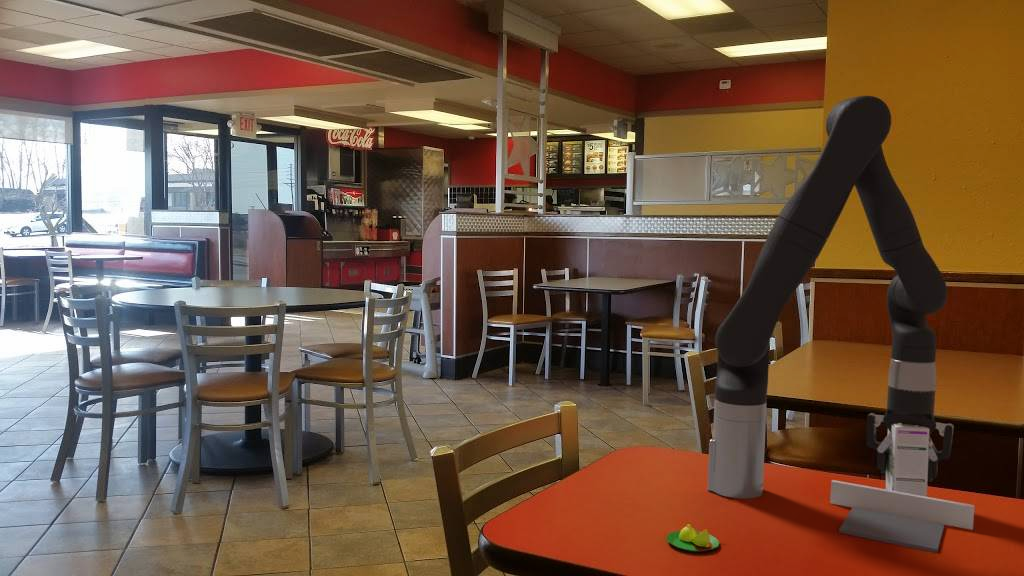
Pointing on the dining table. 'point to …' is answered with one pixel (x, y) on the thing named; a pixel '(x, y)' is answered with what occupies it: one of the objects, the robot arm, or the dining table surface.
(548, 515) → the dining table surface
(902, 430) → the syrup box
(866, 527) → the mat
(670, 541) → the green fruit plate
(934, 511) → the low wall
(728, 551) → the dining table surface
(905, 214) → the robot arm
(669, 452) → the dining table surface
